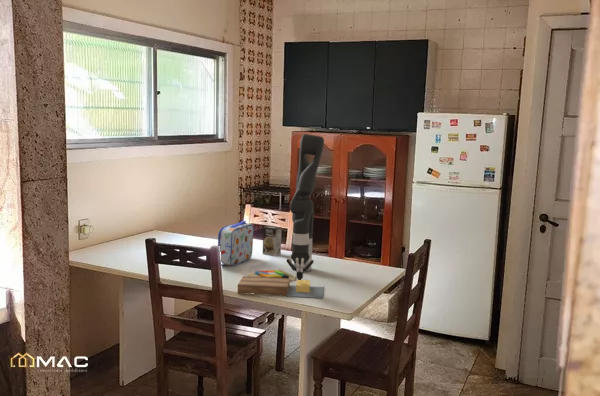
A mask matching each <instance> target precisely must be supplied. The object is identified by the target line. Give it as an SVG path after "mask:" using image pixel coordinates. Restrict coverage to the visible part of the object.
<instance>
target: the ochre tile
mask: <svg viewBox="0 0 600 396" xmlns="http://www.w3.org/2000/svg"><path fill="white" fill-rule="evenodd" d="M295 286H296V292H309V291H310V286H311V280H309V279H301V280H298V279H296V285H295Z"/></svg>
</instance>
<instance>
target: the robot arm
mask: <svg viewBox="0 0 600 396" xmlns="http://www.w3.org/2000/svg"><path fill="white" fill-rule="evenodd" d="M324 147H325V139H324V137H323V136H319V135H313V134H306V133H304V134H302V136H301V138H300V142H299V155H298V156H299V157H298V159H299V160H298V163H299V164H298V169H297V170H298V171H297V175H296V184H295V185H296V186H295V193H294V195H293V197H292V199H291V200H290V201H291V202H290V204H289V211H290V212H291V213H292V214H291V215H292V218H291V219H292V223H293V224H292V225H293V228H292V229H293V230H292V231H293V233H292V240H291V242H292V243H291V245H292V246H291V248H292V249H291V255H290V257H287V259H286V262H287V263H286V264H288V266H289V267H290V268H291V270H292V271H294V272H296V276H295V277H296V280H303V278H304V273H307V272H308V273H309V272H311V271H312V266H313V264H314V262H315V261H314V260H315V259H312V258H313V233H314V220H315V219H314V218H315V210H314V207H315V206H314V203H313V201H312V199H308V198H309V196H311V195H312V194H313V192H314V191H315V188H316V182H317V181H316V180H317V177H316V175H317V172H318V169H319V165H320V163H321V160H322V156H323V155H322V154H323V152H324ZM307 155H308V156H309V155H310V156H314V157H313V159H312V161H311V162H309V159H308V156H307Z"/></svg>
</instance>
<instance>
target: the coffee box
mask: <svg viewBox="0 0 600 396" xmlns="http://www.w3.org/2000/svg"><path fill="white" fill-rule="evenodd" d="M282 229H283V228H282V226H281V227H280V226H275V225H265V226H263V229H262V232H263V233H262V254H263V255H268V256H272V257H277V256H281V254H282Z"/></svg>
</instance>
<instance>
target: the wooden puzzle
mask: <svg viewBox="0 0 600 396" xmlns="http://www.w3.org/2000/svg"><path fill="white" fill-rule="evenodd" d="M246 276H251V277H272V278H290V282H294V281H295V282H296V281H297V278H296V277H297V276H295V275H293V274H291V273H289V272H286V271H285V270H282V269H271V270H269V269H268V270H255V271H254V272H249V273H248V274H247V275H246Z"/></svg>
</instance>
